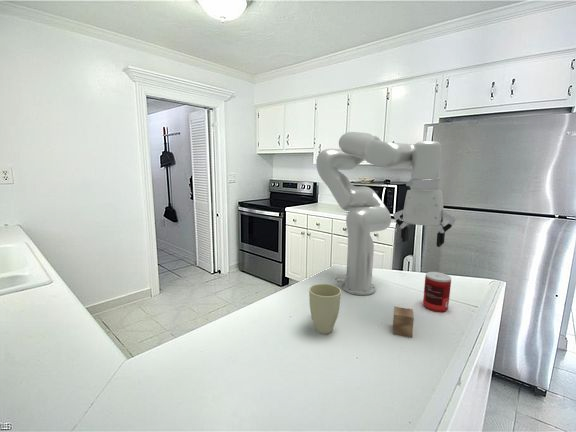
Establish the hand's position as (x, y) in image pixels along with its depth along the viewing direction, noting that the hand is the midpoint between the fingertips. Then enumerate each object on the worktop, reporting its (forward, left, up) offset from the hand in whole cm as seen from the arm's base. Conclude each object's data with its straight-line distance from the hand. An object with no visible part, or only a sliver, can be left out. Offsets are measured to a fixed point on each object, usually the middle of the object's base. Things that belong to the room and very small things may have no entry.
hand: (421, 243), depth 86 cm
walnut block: (-4, -9, -24) cm, 26 cm away
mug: (-26, -15, -24) cm, 39 cm away
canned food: (+7, +11, -24) cm, 28 cm away
